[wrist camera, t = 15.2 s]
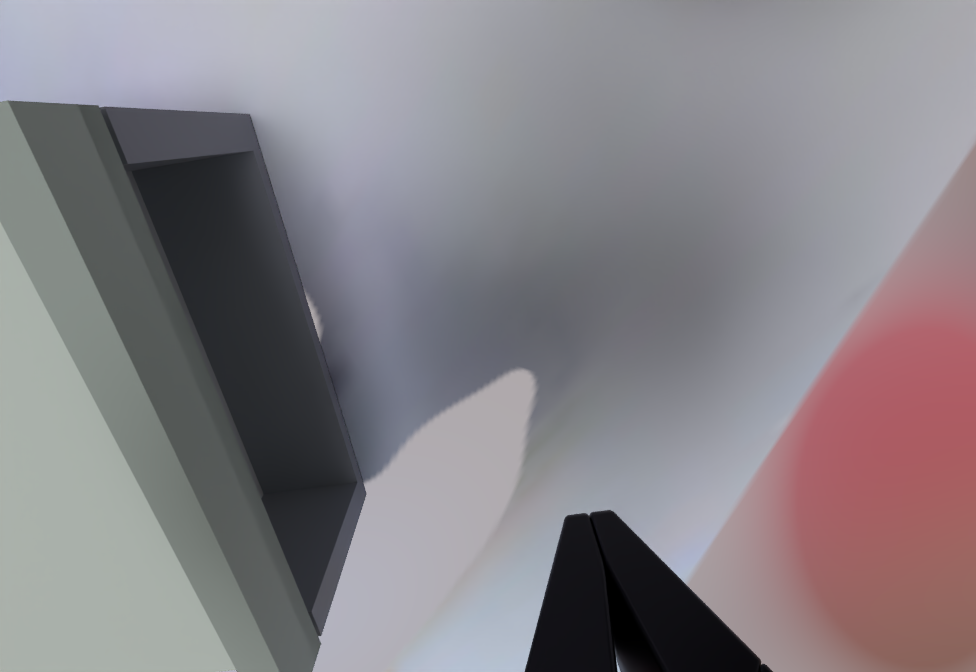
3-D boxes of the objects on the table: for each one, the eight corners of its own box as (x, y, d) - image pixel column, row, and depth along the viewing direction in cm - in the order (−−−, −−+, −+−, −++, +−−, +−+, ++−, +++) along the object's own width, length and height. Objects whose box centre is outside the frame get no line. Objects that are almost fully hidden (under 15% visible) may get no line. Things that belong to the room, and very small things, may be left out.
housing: (249, 114, 18) (104, 106, 11) (366, 493, 24) (321, 635, 17) (-93, 172, 18) (-428, 199, 12) (111, 526, 25) (-28, 675, 18)
